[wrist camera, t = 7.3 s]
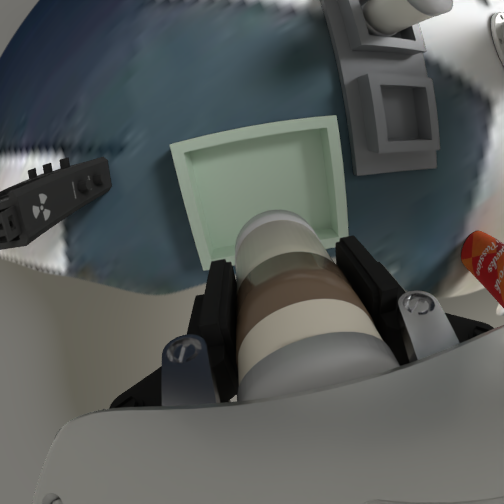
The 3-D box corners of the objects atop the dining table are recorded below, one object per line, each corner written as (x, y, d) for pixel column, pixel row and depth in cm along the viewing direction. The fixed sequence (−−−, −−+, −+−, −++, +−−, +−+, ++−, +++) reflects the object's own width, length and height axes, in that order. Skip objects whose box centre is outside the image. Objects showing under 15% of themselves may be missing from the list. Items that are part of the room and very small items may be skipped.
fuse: (388, 7, 17) (442, -25, 8) (398, 40, 18) (459, 17, 9) (352, 2, 17) (399, -39, 8) (362, 37, 19) (417, 5, 10)
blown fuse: (311, 202, 13) (436, 354, 4) (319, 275, 15) (395, 442, 6) (226, 218, 13) (214, 409, 4) (244, 290, 15) (256, 476, 6)
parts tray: (326, 115, 23) (336, 115, 21) (339, 232, 28) (348, 244, 26) (177, 142, 24) (169, 144, 21) (207, 256, 29) (203, 270, 26)
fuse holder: (396, -14, 16) (411, -24, 13) (431, 166, 25) (450, 173, 22) (312, -24, 16) (320, -39, 13) (353, 174, 26) (367, 181, 23)
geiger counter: (113, 145, 24) (7, 177, 10) (120, 188, 26) (26, 253, 12) (40, 166, 24) (-58, 209, 10) (47, 203, 26) (-42, 262, 12)
